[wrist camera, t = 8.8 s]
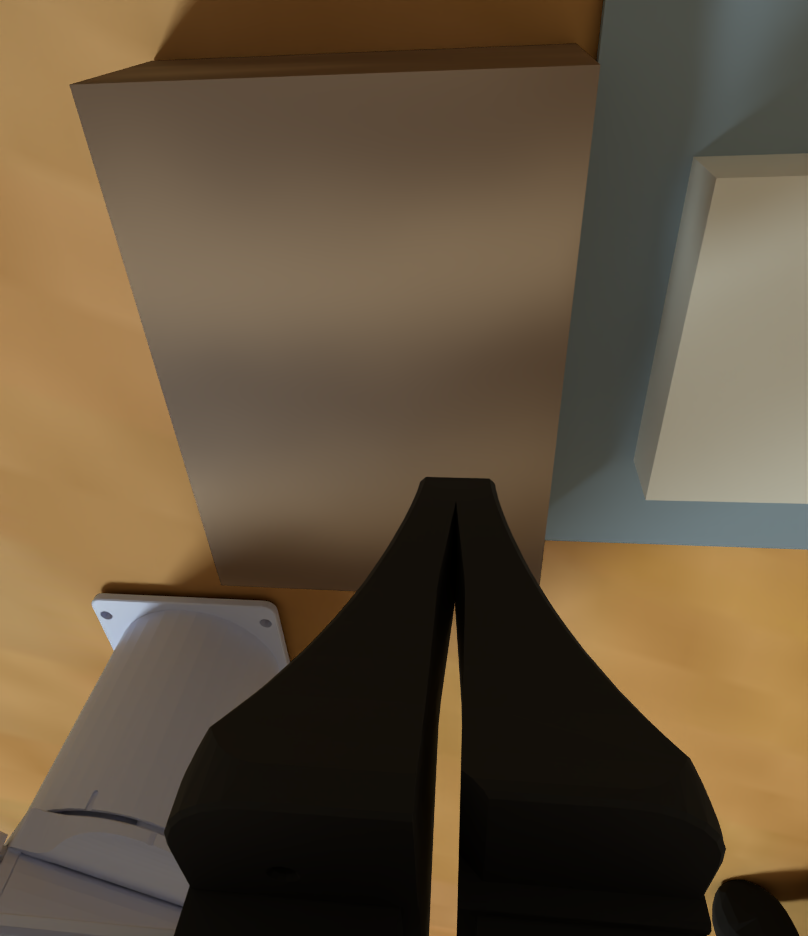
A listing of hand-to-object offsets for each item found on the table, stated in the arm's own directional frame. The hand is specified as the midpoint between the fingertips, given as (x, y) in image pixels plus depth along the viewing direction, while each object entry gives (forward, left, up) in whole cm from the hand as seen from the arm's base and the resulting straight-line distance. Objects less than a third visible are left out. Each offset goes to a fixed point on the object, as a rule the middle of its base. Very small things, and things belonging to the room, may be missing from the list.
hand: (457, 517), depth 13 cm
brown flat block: (0, +3, -8) cm, 9 cm away
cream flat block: (0, -8, -6) cm, 10 cm away
